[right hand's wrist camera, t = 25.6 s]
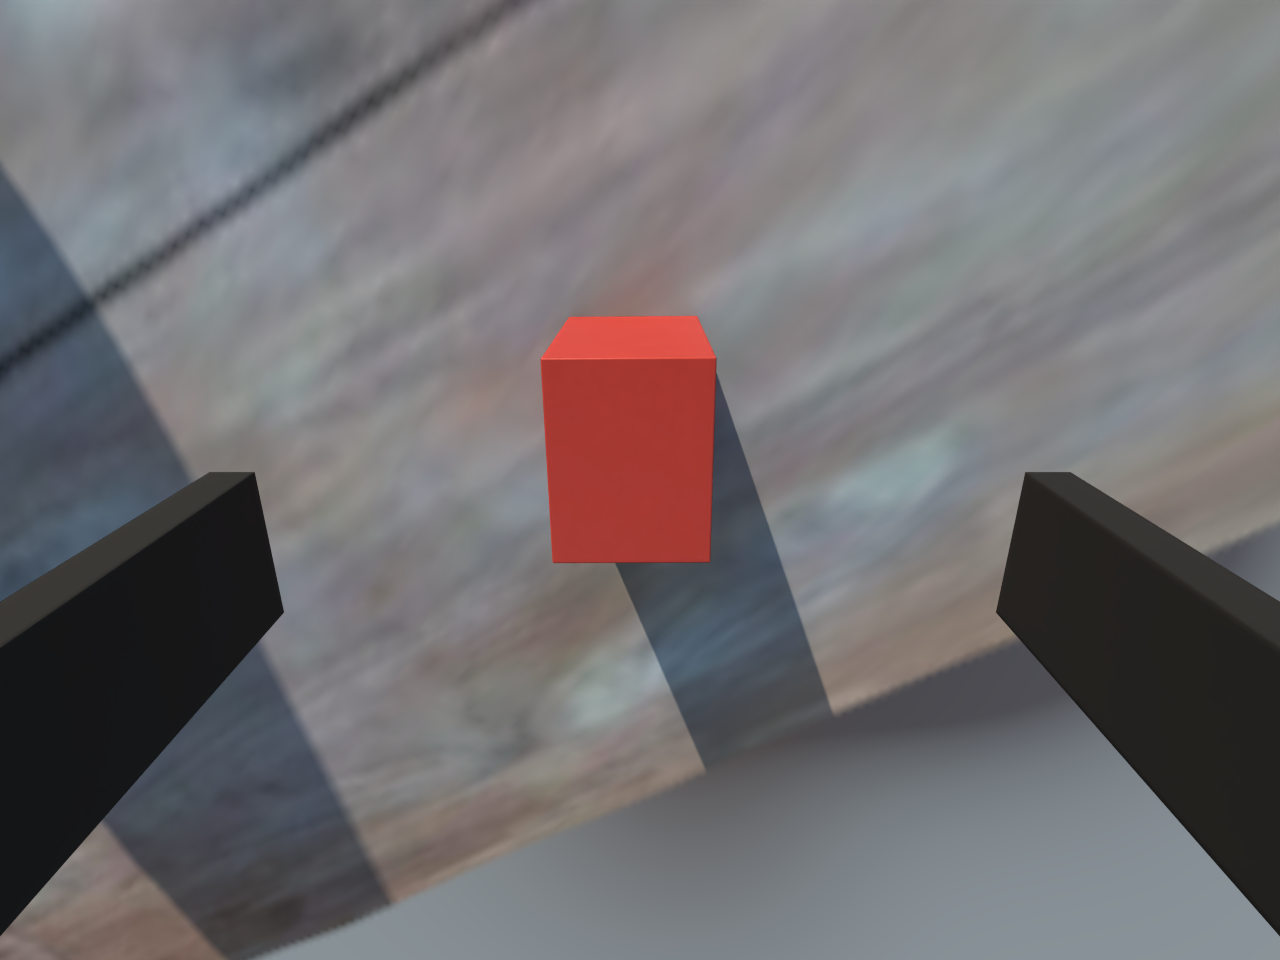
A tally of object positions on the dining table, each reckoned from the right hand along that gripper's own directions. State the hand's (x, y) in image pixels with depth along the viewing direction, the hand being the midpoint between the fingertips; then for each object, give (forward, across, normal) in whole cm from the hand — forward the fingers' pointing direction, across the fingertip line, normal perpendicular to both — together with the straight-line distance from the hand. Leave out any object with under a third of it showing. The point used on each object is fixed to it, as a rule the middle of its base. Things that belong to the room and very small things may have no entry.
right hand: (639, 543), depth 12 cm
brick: (+17, 0, -2) cm, 17 cm away
